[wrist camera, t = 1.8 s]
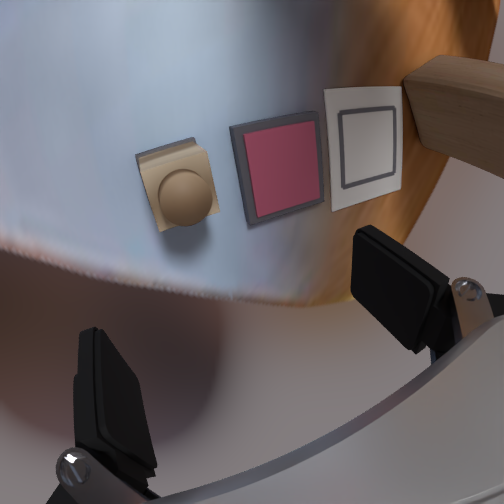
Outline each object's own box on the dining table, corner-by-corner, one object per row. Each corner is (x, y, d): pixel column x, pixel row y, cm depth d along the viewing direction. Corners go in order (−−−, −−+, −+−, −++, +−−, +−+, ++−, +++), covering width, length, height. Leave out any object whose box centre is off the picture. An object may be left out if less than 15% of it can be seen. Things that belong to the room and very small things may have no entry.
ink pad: (229, 126, 23) (234, 128, 22) (311, 111, 25) (319, 112, 24) (246, 220, 28) (251, 226, 27) (318, 197, 30) (326, 202, 29)
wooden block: (437, 52, 26) (577, 84, 10) (454, 115, 32) (575, 162, 16) (397, 77, 26) (569, 120, 10) (419, 148, 32) (558, 212, 16)
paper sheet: (323, 89, 24) (325, 89, 24) (400, 86, 27) (402, 86, 27) (331, 211, 31) (332, 212, 31) (399, 188, 34) (401, 189, 34)
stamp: (135, 154, 21) (137, 177, 16) (192, 136, 22) (216, 153, 17) (151, 207, 24) (160, 248, 18) (205, 190, 25) (231, 223, 19)
